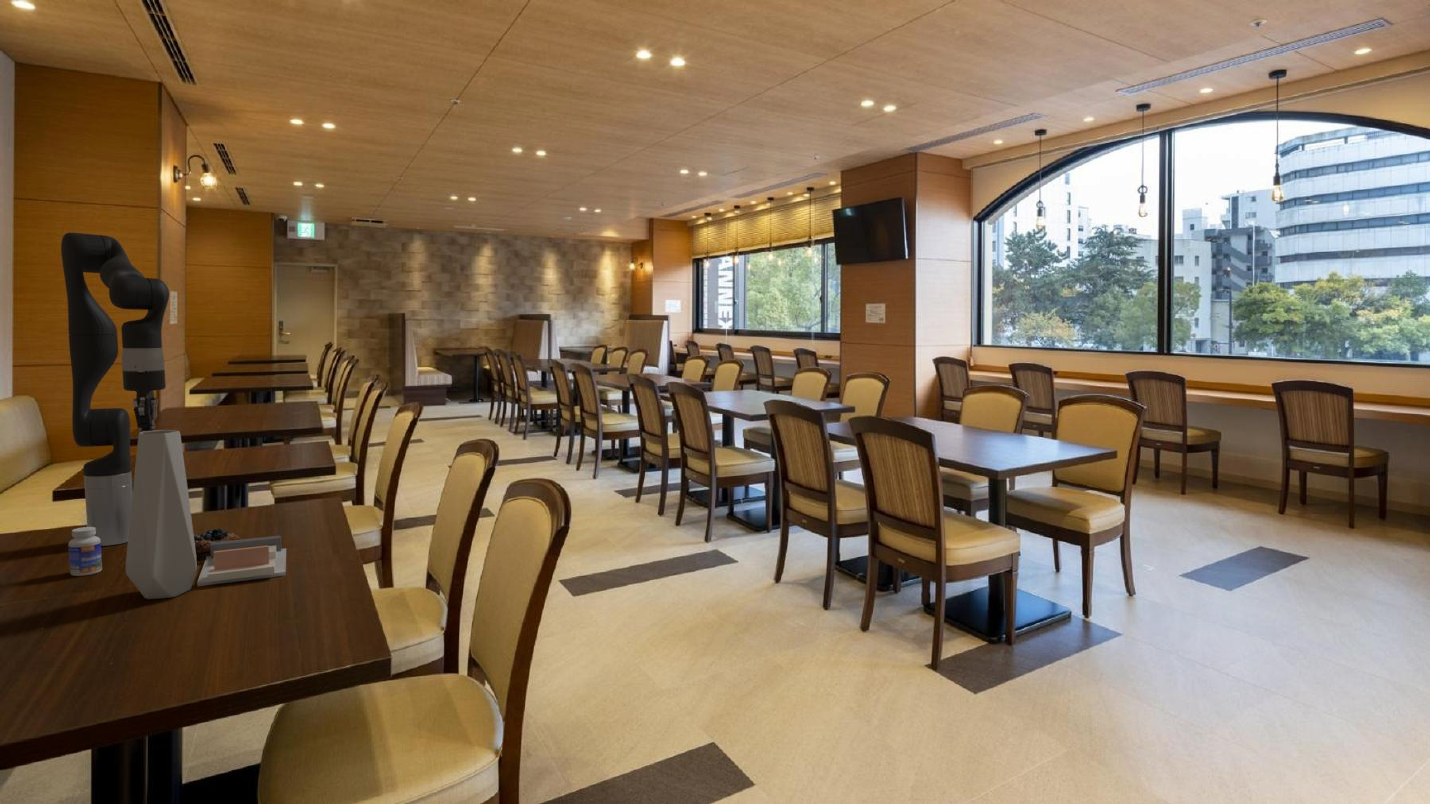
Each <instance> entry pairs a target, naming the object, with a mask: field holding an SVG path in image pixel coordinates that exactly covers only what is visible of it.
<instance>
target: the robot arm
mask: <svg viewBox="0 0 1430 804" xmlns="http://www.w3.org/2000/svg"><path fill="white" fill-rule="evenodd" d="M60 243H61V244H60V249H61V250H60V251H61V252H60V253H61V254H60V255H61V261H62V269H63V276H64V283H65V290H66V299H67V315H68V316H67V319H68V320H67V321H68V323H67V324H68V327H67V328H68V345H69V355H70V357H69V358H70V367H71V376H72V411H71V412H72V417H71V419H72V421H71V422H72V423H71V425H72V436H73V439H74V442H75V444H76V445H77V446H78V447H81V448H86V447H87V448H89V447H90V448H93V447H94V448H95V447H110V446H111V447H113V449H112V450H111V451H110V452H109V453H107V454H106V455H103V456H101V457H98V458H96V459H93V460H90V461H87V462H85V463H84V464H83V468H82V469H83V481H84V482H83V484H84V486H83V487H84V497H85V511H86V513H85V515H86V527H95V528H96V534H95V536H96V537H99V538H100V542H101V547H105V546H114V545H121V544H126V543H128V536H129V526H130V515H131V505H132V495H133V477H132V476H133V474H132V462H131V461H132V459H131V420H130V414H129V413H128V411H127V410H126V409H125V408H122V407H121V408H120V407H110V408H109V407H108V408H91V403H92V399H93V395H94V393H95V391H96V389H97V387H98V386H99V384H100V382H101V381H102V380H103V378H104V377H105V376H106V374H107V373H108V372H109V371H110V369H111V368H112V366H113V365H114V364H115V362H116V360H117V358H118V356H119V338H118V336H119V335H118V328H117V326H116V323H115V322H114V320H113V319H112V318H111V317H110V316H109V314H108V313H107V312H106V311H105V310H104V308H103V307H102V306H101V305H100V304H99V303H98V302H97V300H96V299H95V298H94V296H93V294H92V293H91V291H90V290H89V287H88V285H87V283H86V279H85V276H84V275H85V274H84V273H91V274H99V277H100V280H101V282H102V283H103V284H104V286H105V287H106V288H108V296H109V299H110V302H111V304H112V305H113V306H114V307H117V308H119V309H121V310H138V311H143V310H144V311H147V312H146V315H145V316H144V317H142V318H140V319H134V320H129V321H125V322H124V323H122V325H121V328H120V329H121V342H122V343H121V344H122V351H121V352H122V353H121V369H122V371H121V372H122V385H123V389H124V390H125V391H128V392H135V393H136V398H135V399H133V400H132V404H133V411H134V416H135V420H136V427H137V429H139V431H140V432H143V431H154V430H155V428H156V424H157V417H158V410H157V409H158V404H159V401H158V400H159V398H158V397H155V393H154V391H162V390H165V388H166V369H165V357H164V352H163V351H164V350H163V342H162V340H163V339H162V338H163V337H162V327H163V321H164V316H165V312H166V309H167V306H168V303H169V298H170V290H169V288H168V285H167V284H166V283H165V282H164V281H163V280H162V279H160V278H154V277H153V278H152V277H146V276H144V274H143V273H142V272H141V271H139V270H138V268H136V267H135V266H134V265H133V264H132V262H131V261H130V259H129V257H128V255H127V253H126V252H125V249H124V247H123V246H122V244H121V243H120V241H118V240H117V239H116V238H114V237H113V236H109V235H103V234H91V233H82V232H67V233H65V234H63V236H62V239H61V242H60Z"/></svg>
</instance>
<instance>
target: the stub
mask: <svg viewBox="0 0 1430 804" xmlns="http://www.w3.org/2000/svg"><path fill="white" fill-rule="evenodd" d="M269 574H275V560H272V561H269V545H267V546H258V547H248V548H239V549H230V550H220V551H214V567H212V568H210V569H209V571H208V574H207V575H208V582H212V581H220V580H228V579H236V578H245V577H253V576H261V575H269Z"/></svg>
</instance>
